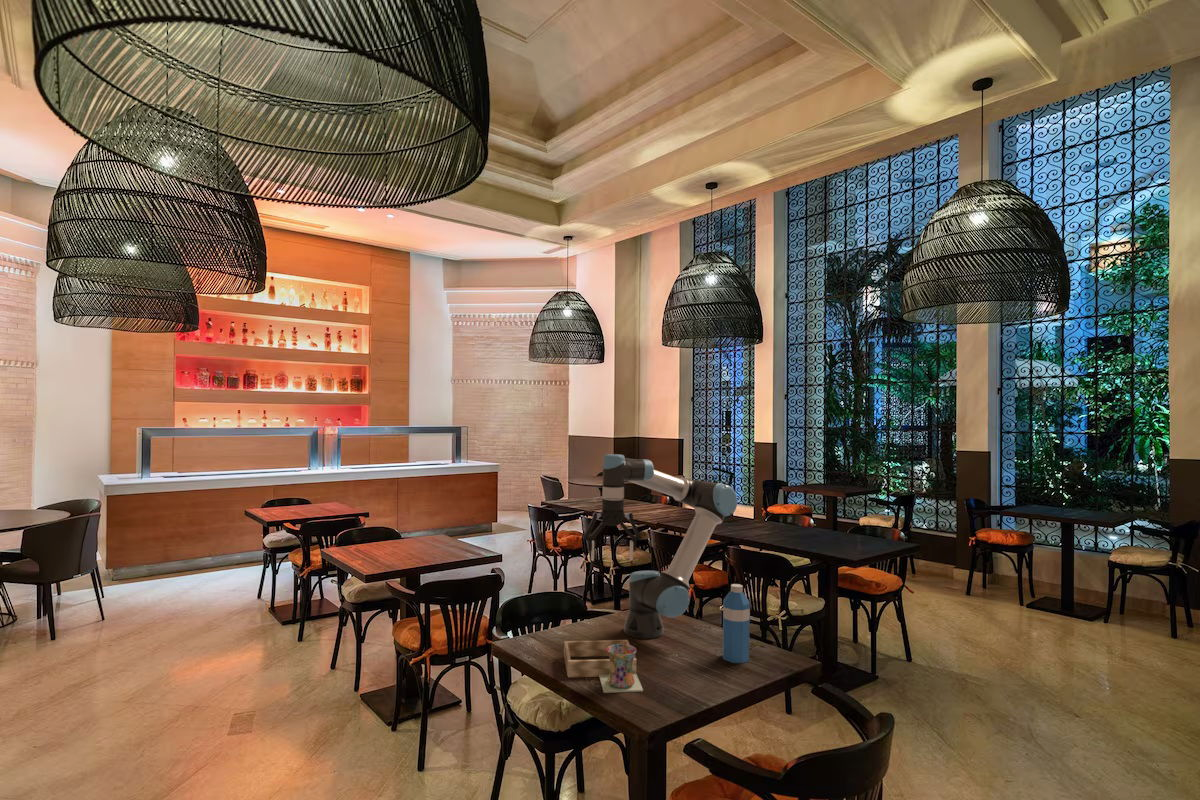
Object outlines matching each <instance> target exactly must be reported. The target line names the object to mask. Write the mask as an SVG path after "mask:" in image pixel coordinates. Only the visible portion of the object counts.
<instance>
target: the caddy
mask: <svg viewBox="0 0 1200 800" xmlns="http://www.w3.org/2000/svg"><path fill="white" fill-rule="evenodd" d="M563 644H564V645H563V658H564V659H563V660H564V664H565V669H566V675H567V676H568V677H567V678H591V677H592V678H593V677H599V675H609V674H610V659H609V658H607V659H606V658H602V659H572V658H574V657H575V658H579V657H580V658H581V657H584V658H585V657H609V656H608V653H607V650H606V649H607V647H608V646H611V645H614V644H627V645H631V644H630V642H629V640H628V639H607V640H605V639H604V640H601V639H600V640H567V641H566V640H564V643H563ZM632 674H637V657H636V655H635V656H634V659H633V663H632Z"/></svg>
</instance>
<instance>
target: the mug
mask: <svg viewBox="0 0 1200 800" xmlns="http://www.w3.org/2000/svg"><path fill="white" fill-rule="evenodd" d="M606 650H607V653H608V656H607V657H608V659H610V674H609V677H608V679H607V682H608V683H609V684H610V685H611V686H614V687H619V688H625V687H630V686H632V685H633V684H634V682H635V680H634V678H633V674H632V663H633V659H634V656H635V657H636V654H637V651H638V650H637V648H636V647H635V646H633V645H631V644H630V645H627V644H614V645H611V646H608V647H607V649H606Z"/></svg>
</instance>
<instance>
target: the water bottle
mask: <svg viewBox="0 0 1200 800" xmlns="http://www.w3.org/2000/svg"><path fill="white" fill-rule="evenodd" d="M743 588H744V586H743V585H742V584H739V583H732V584H730V591H729V592H728V593H727V594H726V595H725V597H724V598H723V602H722V603H723V604H722V606H723V607H722V609H723V611H722V659H723V660H724V661H726V662H729V663H732V664H744V663H746V662H747V663H748V662H749V661H750V627H751V625H750V624H751V623H750V622H751V620H750V619H751V617H750V616H751V612H750V611H751V604H750V601H749V599H748V598H747V596H746V594H745V593H744V592H743V591H744V589H743Z"/></svg>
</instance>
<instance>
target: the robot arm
mask: <svg viewBox="0 0 1200 800" xmlns="http://www.w3.org/2000/svg"><path fill="white" fill-rule="evenodd" d="M625 482H629V483H632V484H636V485H639V486H641V487H644V488H647V489H649V490H652V491H655V492H658V493H661V494H665V495H667V496H669V497H672V498H673V499H674V500H675V501H677V502H680V503H682V504H685V505H687V506H688V507H689V506H690V507H691V508H694V512H695V515H694V517H693V519H692V521H691V523H690V525H689V527H688V529H687V530H686V532H685V535H684V537H683V538H682V541H681V542H680V545H679V547H678V548H677V551H676V553H675V554H674V556H673V559H672V560H671V562H670V565H669V566H668V568H667V569H666V570H664V571H660V572H661V573H660V572H659V571H657V570H638V571H633V572H631V573H630V574H629V581H628V584H629V585H628V586H629V588H628V589H629V590H628V592H629V593H628V595H629V596H628V612H627V616H626V619H625V622H624V626H623V632H624V634H626V636H630V638H631V637H633V638H635V639H645V640H646V639H655V638H659V637H661V636H663V635H664V630H665V629H664V628H665V627H664V625H663V621H662V616H663V617H668V618H673V619H674V618H677V617H680V616H681V615H683V614H684V613H685V612H686V610H687V609H688V607H689V606H690V597H691V596H690V593H689V590H690V588H691V587H690V584H689V581H690V578H691V576H692V575H693V572H694V571H695V568H696V566H697V564H698V562H699V560H700V558H701V556H702V554H703V553H704V551H705V549H706V546H707V544H708V542H709V541H710V539H711V536H712V535H713V532H714V530H715V528H716V526H717V525H720V524H722V523H723V522H724V519H725V517H728V516H731V515H733V514H734V512H735V511H736V509H737V507H738V497H737V492H736V491H735V490H734V488H733V487H732V486H730V485H728V484H725V483H722V482H711V481H706V480H696V479H689V478H686V477H682V476H681V477H679V478H678V477H676V476H673V475H670V474H667V473H665V472H662V471H659V470H657V469H655V466H654V464H653V461H651V460H650V459H644V458H641V459H638V458H637V459H635V458H629V457H625V455H624V454H619V453H618V454H617V453H616V454H615V453H614V454H613V453H608V454H604V456H603V460H602V494H601V495H602V498H603V499H602V501H601V503H602V504H601V512H600V513H599V512H596V511H594V512H593V513H592V518H591V520H590V522H589V524H588V526H587V527H586V530H585V532H584V534H583V536H582V539H583V540H584V541H586V542H588V544H587V549H588V551H589V552H590V560H591V562H594V561H595V540H594V539H596V537H597V536H598V535H599V534H600V532H601V531H602V530H603V529H604V528H605V527H606V526H608V527H613V526H614V527H618V526H619V525H620V527H621V528H622V529H623V530H624V531H625V532H626V534H627V535H628V536H629V538H631V540H629V560H630V561H634V551H636V549H637V541H639V540H642V535H641V534H640V531H639V529H638V527H637V525H636V523H635V520H634V518H633V517H634V514H633V513H632V512H630V511H629V512H627V513H625V512H624V510H625V507H624V504H625V501H624V498H625ZM600 518H601V519H602V520H601V522H600V523H599V525H598V526H597V527H596V529H594V531H593V532H592V530H593V528H594V526H595V524H596V522H597V520H599V519H600ZM625 518H626V520H628V522H629V523H630V525H631V528H632V529H633V530H632V531H634V534H635V536H634V534H633V533H632V531H630V529H629V528H628V527H627V526H626V524H625V523H624V522H623V520H624V519H625Z"/></svg>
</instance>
